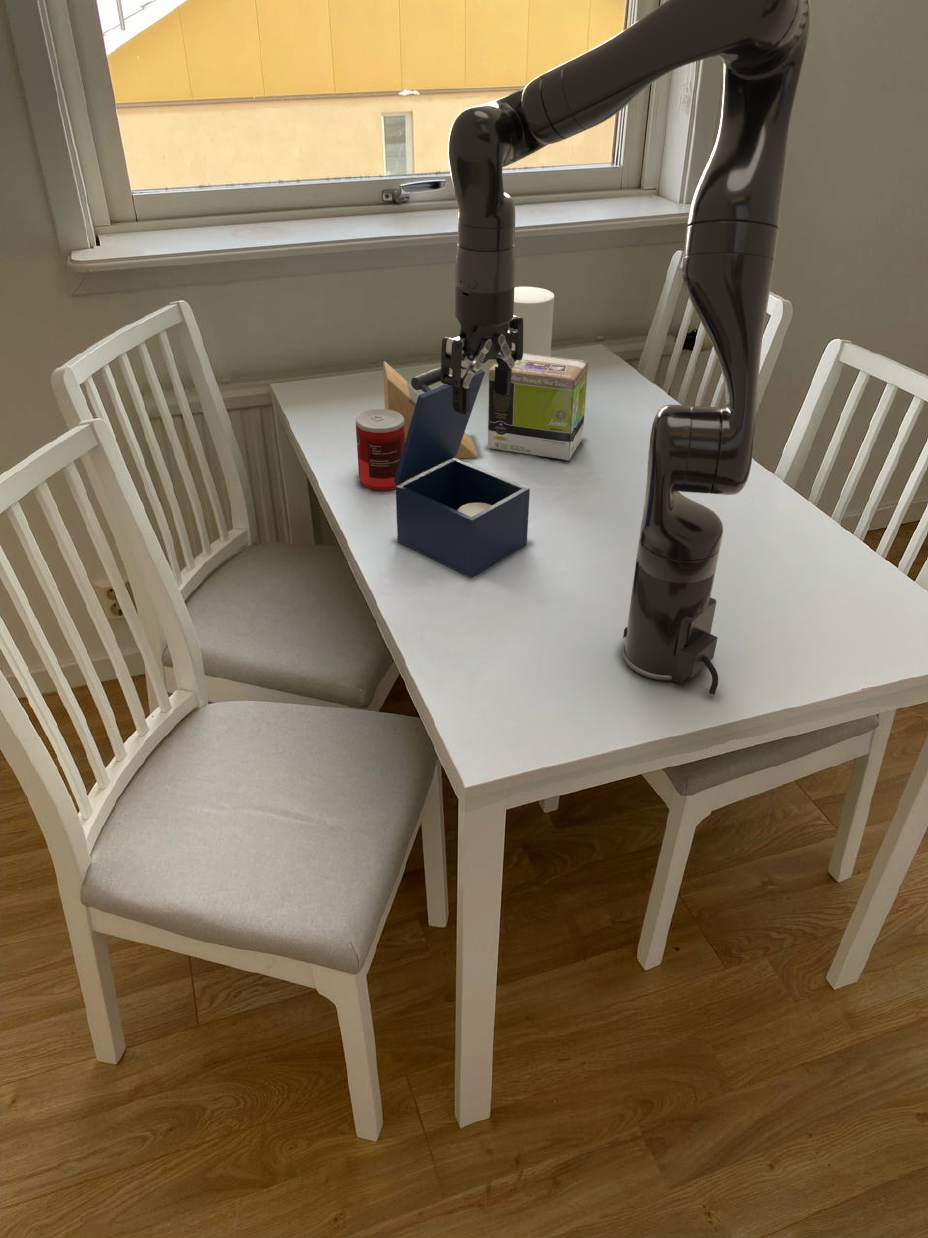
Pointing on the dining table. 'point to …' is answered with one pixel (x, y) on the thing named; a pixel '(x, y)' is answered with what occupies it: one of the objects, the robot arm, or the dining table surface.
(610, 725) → the dining table surface
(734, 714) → the dining table surface
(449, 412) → the cool box lid
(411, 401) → the sandwich container
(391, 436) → the canned food
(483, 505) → the plastic tub
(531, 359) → the tea box
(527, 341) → the container
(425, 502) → the navy blue open box
